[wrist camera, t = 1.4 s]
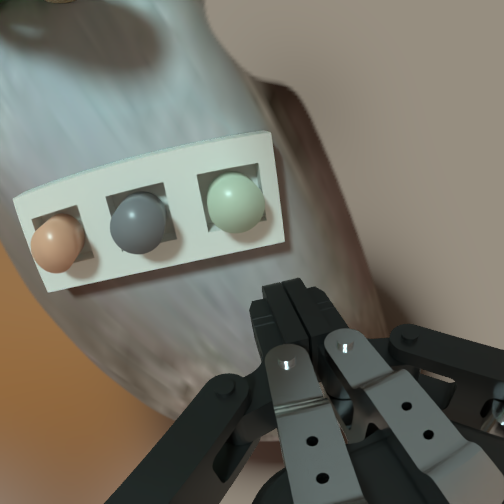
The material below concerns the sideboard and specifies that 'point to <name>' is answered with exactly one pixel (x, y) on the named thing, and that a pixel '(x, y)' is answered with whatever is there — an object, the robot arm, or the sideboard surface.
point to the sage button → (234, 202)
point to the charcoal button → (139, 223)
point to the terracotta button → (57, 243)
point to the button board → (173, 197)
